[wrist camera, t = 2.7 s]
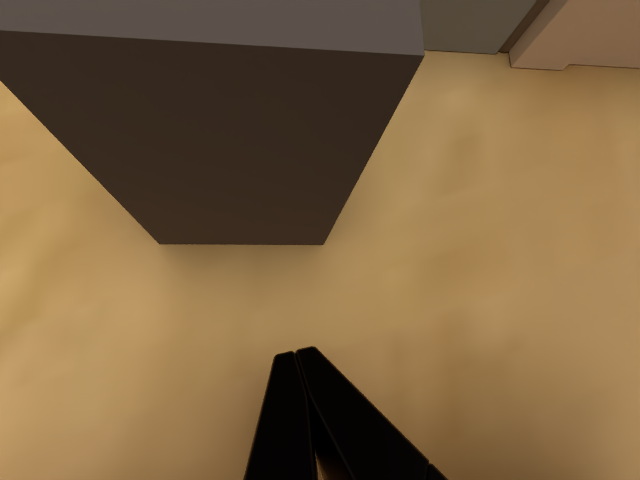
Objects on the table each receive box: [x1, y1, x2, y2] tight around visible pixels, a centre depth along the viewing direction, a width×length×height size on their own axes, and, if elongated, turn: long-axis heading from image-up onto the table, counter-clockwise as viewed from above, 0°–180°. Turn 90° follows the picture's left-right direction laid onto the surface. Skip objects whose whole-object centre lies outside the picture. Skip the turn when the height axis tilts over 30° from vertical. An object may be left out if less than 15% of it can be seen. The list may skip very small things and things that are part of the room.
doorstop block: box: [0, 0, 425, 245], centre depth 12 cm, size 7×6×11 cm
